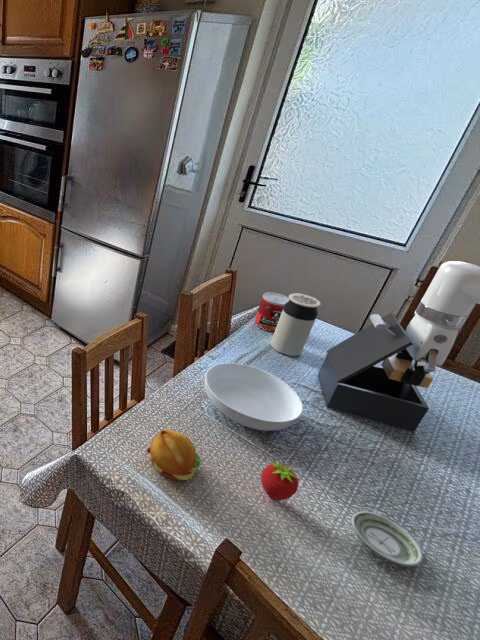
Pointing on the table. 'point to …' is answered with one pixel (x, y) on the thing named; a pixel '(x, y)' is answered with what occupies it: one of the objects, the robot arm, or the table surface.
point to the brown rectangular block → (402, 370)
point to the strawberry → (279, 481)
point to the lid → (368, 347)
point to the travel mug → (295, 324)
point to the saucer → (386, 539)
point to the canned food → (270, 310)
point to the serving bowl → (252, 396)
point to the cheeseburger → (174, 455)
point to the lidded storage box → (373, 397)
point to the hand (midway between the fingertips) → (404, 374)
